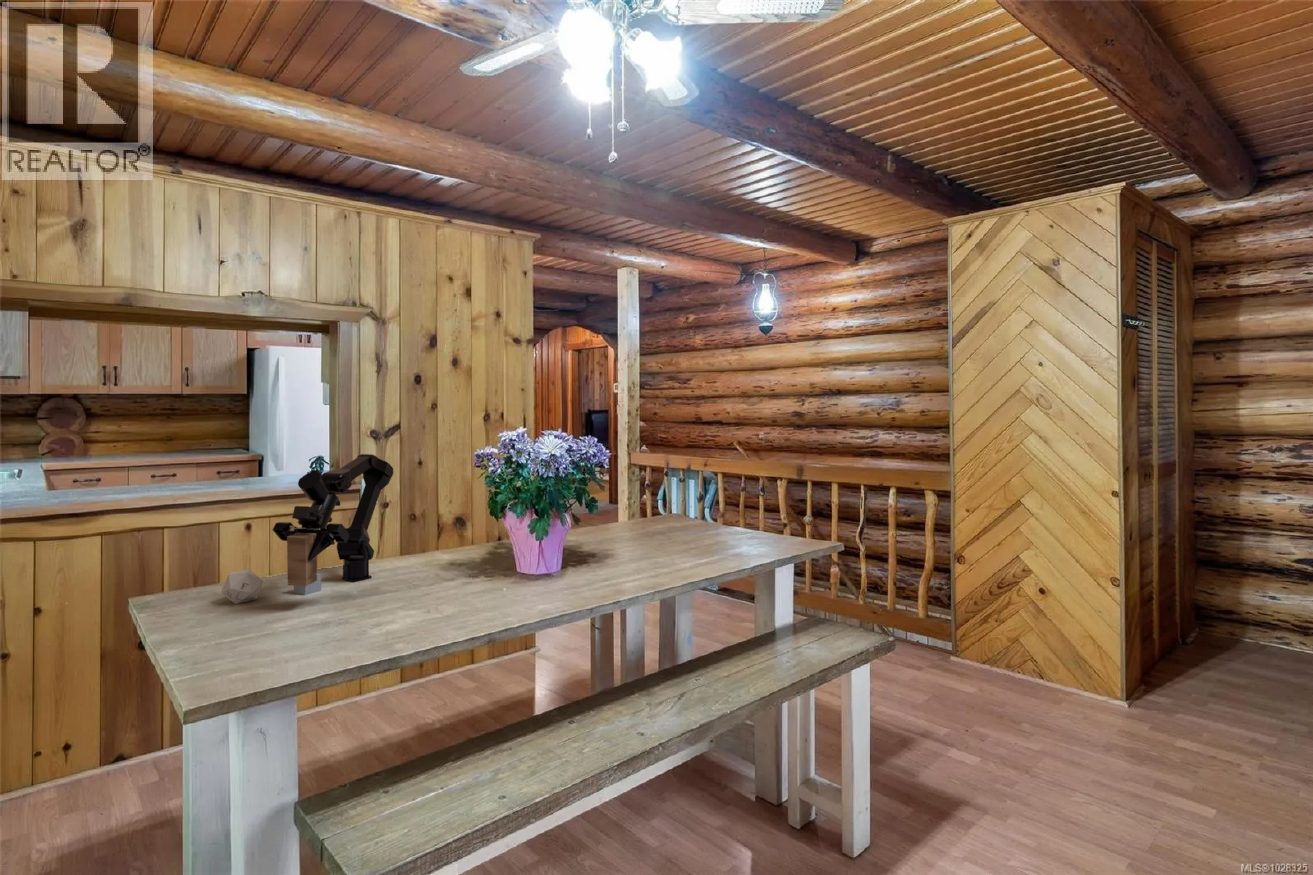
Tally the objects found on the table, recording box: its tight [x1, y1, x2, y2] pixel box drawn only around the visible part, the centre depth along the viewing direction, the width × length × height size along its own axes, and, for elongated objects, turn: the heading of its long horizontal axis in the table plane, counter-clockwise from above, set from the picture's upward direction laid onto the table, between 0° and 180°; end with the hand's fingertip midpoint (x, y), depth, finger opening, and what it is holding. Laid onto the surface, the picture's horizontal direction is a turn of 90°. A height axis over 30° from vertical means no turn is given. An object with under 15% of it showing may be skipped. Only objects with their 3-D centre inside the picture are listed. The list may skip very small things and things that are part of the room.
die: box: [221, 568, 264, 605], centre depth 182 cm, size 8×9×10 cm
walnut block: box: [286, 532, 318, 587], centre depth 177 cm, size 5×5×13 cm
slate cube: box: [293, 572, 322, 596], centre depth 191 cm, size 5×5×5 cm
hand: (299, 559), depth 176 cm, fingers closed on walnut block, 5 cm apart
